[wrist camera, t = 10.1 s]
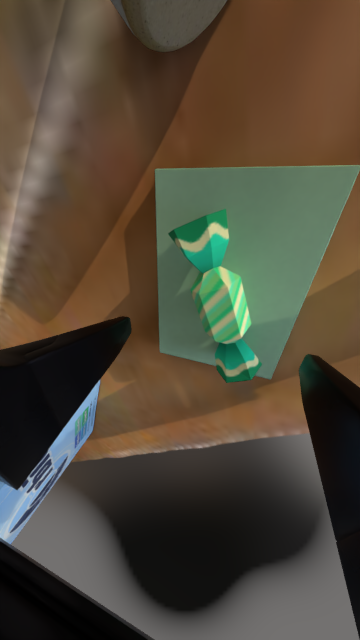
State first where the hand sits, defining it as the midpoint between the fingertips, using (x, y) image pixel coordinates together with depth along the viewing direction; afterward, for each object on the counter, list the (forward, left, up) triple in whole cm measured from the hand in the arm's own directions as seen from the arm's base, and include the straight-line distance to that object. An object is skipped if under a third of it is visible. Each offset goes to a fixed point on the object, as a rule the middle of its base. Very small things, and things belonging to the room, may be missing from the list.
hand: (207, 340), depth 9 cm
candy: (0, 0, -7) cm, 7 cm away
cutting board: (0, 0, -8) cm, 8 cm away
